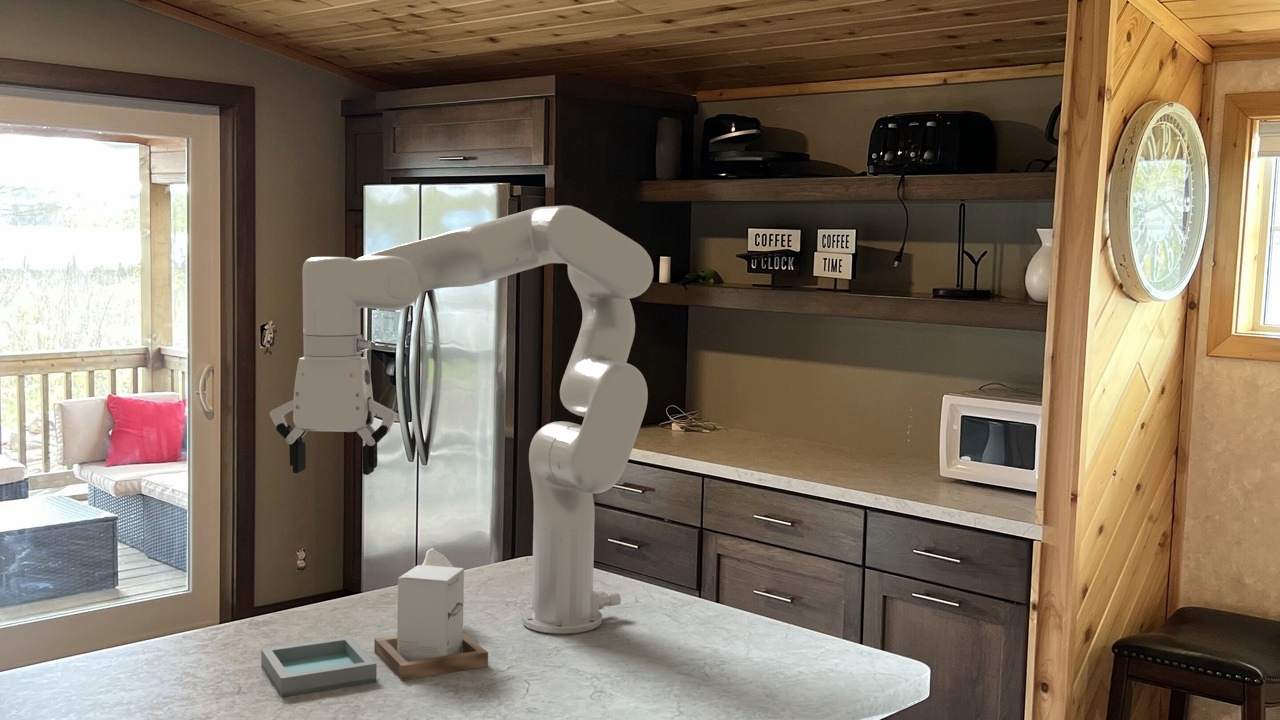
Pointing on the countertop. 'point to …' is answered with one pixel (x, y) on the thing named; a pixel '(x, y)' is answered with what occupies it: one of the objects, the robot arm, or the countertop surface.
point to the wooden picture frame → (430, 659)
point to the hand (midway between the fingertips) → (333, 472)
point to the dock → (317, 666)
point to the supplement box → (430, 612)
